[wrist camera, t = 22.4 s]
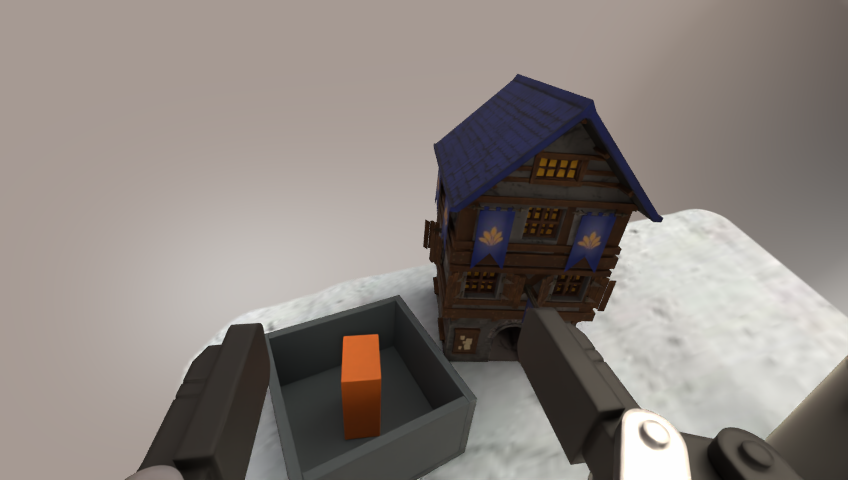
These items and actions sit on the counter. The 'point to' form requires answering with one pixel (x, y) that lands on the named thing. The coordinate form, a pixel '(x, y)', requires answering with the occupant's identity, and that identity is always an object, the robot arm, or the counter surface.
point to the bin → (400, 398)
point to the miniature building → (526, 217)
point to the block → (361, 386)
